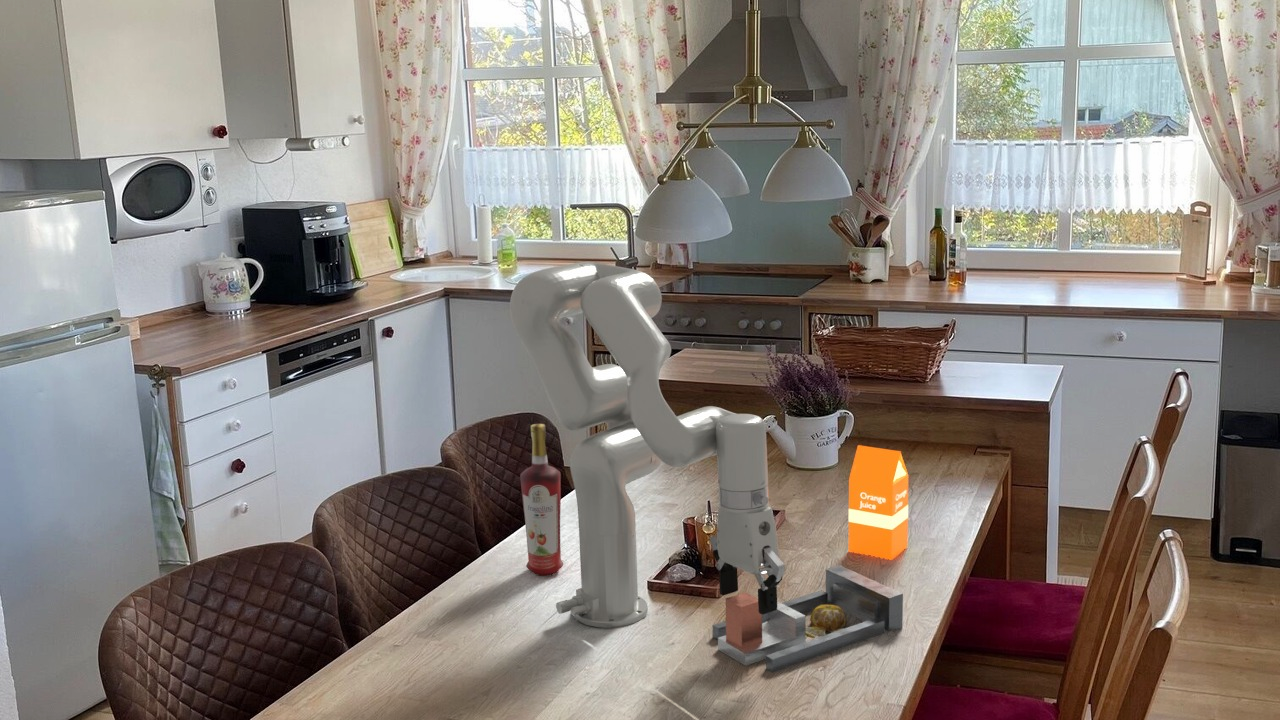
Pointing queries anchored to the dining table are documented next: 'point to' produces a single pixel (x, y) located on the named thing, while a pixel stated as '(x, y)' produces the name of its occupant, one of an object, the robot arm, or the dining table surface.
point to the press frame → (854, 598)
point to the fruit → (826, 620)
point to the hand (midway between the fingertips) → (748, 602)
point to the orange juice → (878, 503)
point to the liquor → (542, 508)
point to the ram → (759, 630)
